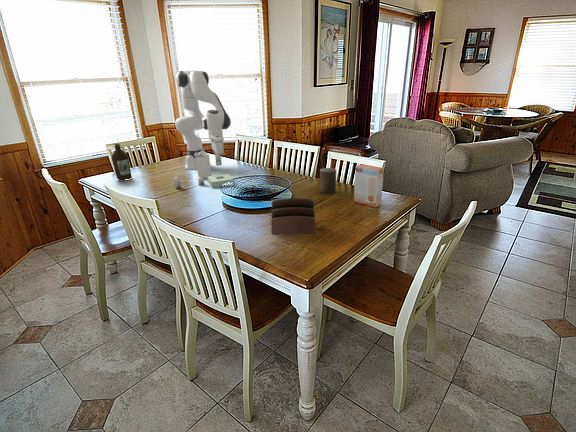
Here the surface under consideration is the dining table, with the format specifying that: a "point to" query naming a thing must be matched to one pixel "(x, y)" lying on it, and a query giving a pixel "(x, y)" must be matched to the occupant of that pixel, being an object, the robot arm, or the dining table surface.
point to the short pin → (201, 181)
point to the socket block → (219, 180)
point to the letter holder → (293, 216)
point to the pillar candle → (327, 180)
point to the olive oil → (121, 163)
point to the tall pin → (218, 162)
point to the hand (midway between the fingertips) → (218, 158)
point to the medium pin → (177, 182)
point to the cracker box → (368, 185)
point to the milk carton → (203, 164)
